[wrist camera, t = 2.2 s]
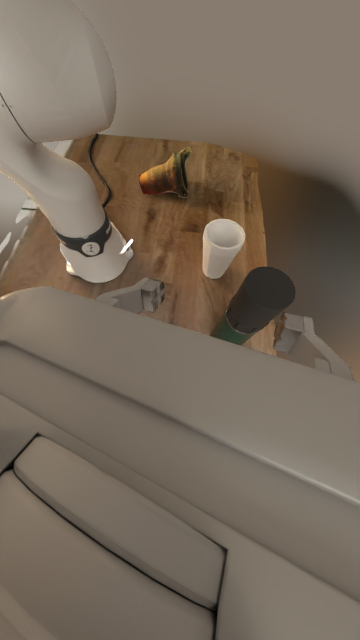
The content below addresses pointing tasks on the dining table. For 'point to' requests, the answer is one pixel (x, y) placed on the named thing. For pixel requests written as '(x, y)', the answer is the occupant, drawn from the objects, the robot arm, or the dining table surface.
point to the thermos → (229, 332)
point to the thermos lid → (260, 299)
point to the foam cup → (220, 246)
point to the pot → (168, 176)
